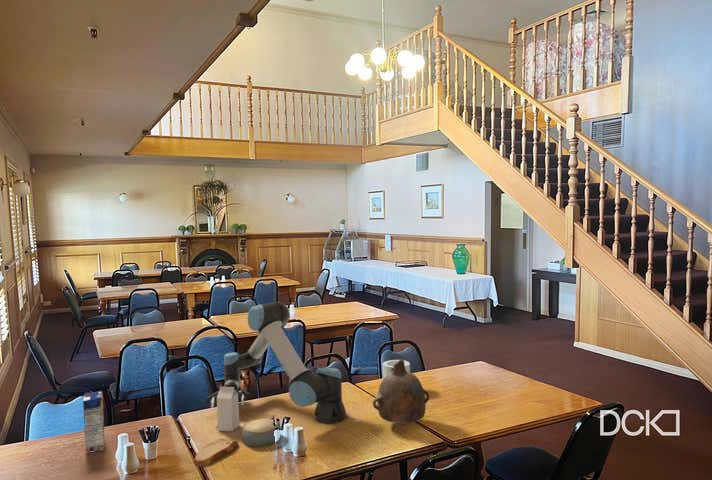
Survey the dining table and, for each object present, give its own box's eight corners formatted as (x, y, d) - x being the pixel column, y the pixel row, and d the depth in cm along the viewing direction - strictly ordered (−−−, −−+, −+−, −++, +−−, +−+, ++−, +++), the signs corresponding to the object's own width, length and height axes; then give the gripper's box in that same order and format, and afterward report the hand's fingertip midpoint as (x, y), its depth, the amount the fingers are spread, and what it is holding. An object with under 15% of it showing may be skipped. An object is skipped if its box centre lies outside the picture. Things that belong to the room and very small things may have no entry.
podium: (287, 433, 214) (286, 420, 214) (268, 449, 199) (267, 434, 199) (255, 429, 220) (255, 416, 220) (235, 444, 205) (234, 430, 205)
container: (397, 397, 255) (396, 369, 254) (376, 390, 267) (375, 363, 266) (418, 389, 265) (417, 363, 265) (396, 383, 277) (395, 358, 277)
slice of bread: (195, 469, 186) (194, 459, 186) (192, 450, 202) (191, 441, 202) (243, 459, 193) (242, 449, 193) (236, 441, 209) (235, 432, 209)
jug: (401, 411, 235) (398, 349, 234) (437, 422, 220) (435, 356, 219) (365, 427, 218) (363, 360, 217) (402, 440, 202) (400, 368, 202)
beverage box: (85, 453, 202) (83, 401, 202) (87, 443, 212) (84, 393, 212) (104, 449, 205) (101, 397, 205) (104, 440, 215) (102, 390, 215)
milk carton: (232, 431, 219) (230, 389, 218) (218, 431, 220) (216, 389, 220) (239, 425, 226) (237, 384, 225) (225, 424, 227) (223, 384, 227)
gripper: (256, 394, 248) (255, 409, 227) (205, 399, 244) (199, 414, 223) (255, 379, 248) (254, 393, 227) (204, 384, 244) (198, 398, 223)
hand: (227, 403), depth 225 cm, fingers open, 13 cm apart
